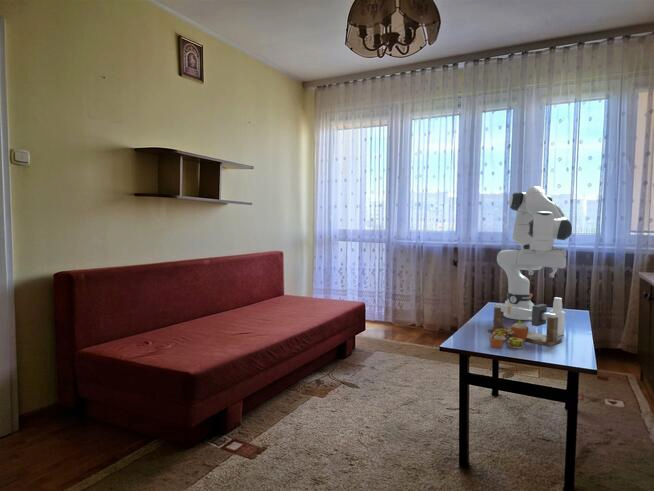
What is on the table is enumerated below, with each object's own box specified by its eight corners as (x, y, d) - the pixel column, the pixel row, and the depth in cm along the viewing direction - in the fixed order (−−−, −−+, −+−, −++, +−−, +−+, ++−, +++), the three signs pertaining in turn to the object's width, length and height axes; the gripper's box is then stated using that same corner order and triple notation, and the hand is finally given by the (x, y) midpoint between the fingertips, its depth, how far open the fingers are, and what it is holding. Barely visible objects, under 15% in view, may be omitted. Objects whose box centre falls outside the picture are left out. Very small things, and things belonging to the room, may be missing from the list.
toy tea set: (494, 334, 207) (494, 315, 207) (528, 339, 200) (529, 319, 199) (485, 348, 185) (486, 326, 184) (523, 354, 177) (524, 331, 176)
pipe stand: (488, 331, 210) (489, 304, 209) (500, 328, 218) (501, 301, 217) (549, 346, 187) (551, 316, 186) (561, 342, 194) (563, 312, 193)
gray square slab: (531, 325, 194) (532, 306, 194) (540, 322, 200) (541, 303, 199) (537, 326, 193) (537, 307, 192) (546, 323, 198) (546, 304, 198)
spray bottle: (551, 331, 213) (552, 296, 212) (565, 333, 209) (567, 298, 207) (546, 333, 209) (548, 297, 207) (561, 336, 204) (563, 299, 203)
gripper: (569, 247, 188) (568, 278, 189) (524, 245, 204) (523, 273, 205) (563, 248, 184) (561, 279, 185) (518, 245, 200) (516, 274, 201)
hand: (541, 276), depth 195 cm, fingers open, 8 cm apart
